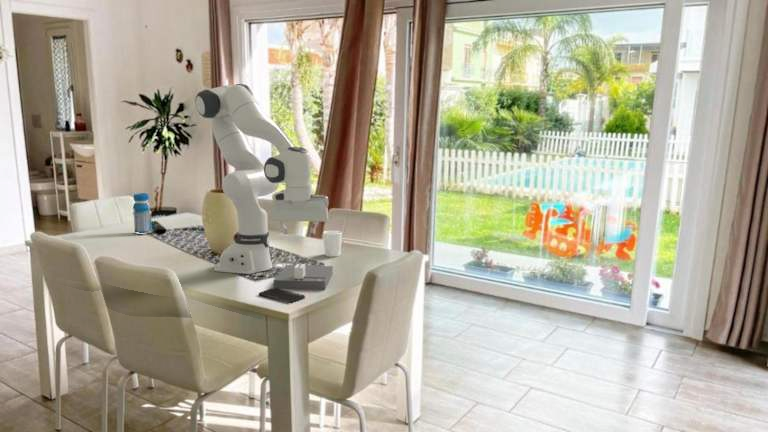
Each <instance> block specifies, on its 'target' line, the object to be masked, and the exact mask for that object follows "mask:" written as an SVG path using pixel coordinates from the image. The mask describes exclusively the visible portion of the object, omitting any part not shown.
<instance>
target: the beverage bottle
mask: <svg viewBox="0 0 768 432" xmlns="http://www.w3.org/2000/svg"><path fill="white" fill-rule="evenodd" d="M149 197H150V196H149V194H148V193H143V192H141V193H140V192H139V193H134V194H133V201H134V204H133V207H132V210H133V212H132V215H133V222H134V223H133V224H134V233H135V232H139V233H145V232H149V231H151V230H152V231H153V226H152V209H151V208H152V207H151V204H150V203H149V202H148V201H149V200H150V199H149Z"/></svg>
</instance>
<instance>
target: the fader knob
mask: <svg viewBox="0 0 768 432" xmlns="http://www.w3.org/2000/svg"><path fill="white" fill-rule="evenodd" d="M295 265H296V266H295V267H294V279H303V278H304V276H305V275H306V272H305V266H306V263H296V264H295Z"/></svg>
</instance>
